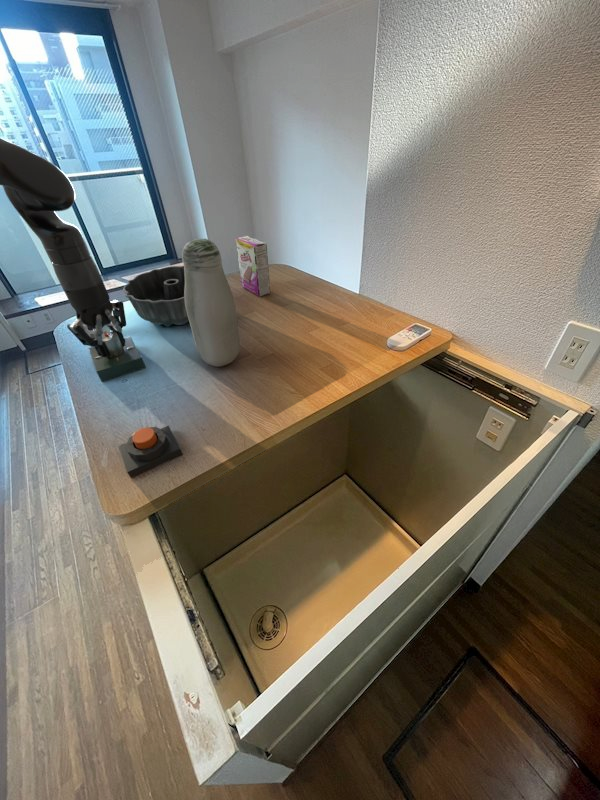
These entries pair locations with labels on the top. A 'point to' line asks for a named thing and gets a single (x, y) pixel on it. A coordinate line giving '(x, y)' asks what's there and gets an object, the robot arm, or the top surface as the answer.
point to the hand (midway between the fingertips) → (113, 351)
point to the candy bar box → (253, 265)
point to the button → (144, 438)
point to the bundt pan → (159, 295)
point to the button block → (150, 452)
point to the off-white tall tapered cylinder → (210, 303)
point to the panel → (118, 362)
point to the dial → (112, 343)
